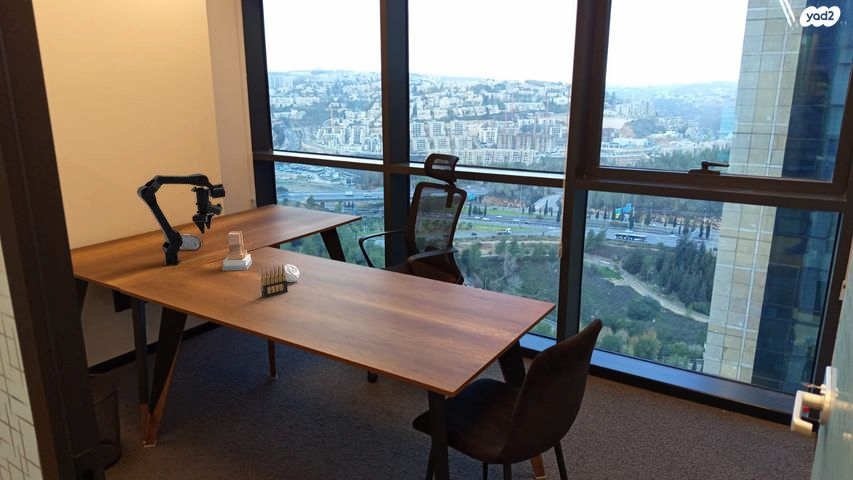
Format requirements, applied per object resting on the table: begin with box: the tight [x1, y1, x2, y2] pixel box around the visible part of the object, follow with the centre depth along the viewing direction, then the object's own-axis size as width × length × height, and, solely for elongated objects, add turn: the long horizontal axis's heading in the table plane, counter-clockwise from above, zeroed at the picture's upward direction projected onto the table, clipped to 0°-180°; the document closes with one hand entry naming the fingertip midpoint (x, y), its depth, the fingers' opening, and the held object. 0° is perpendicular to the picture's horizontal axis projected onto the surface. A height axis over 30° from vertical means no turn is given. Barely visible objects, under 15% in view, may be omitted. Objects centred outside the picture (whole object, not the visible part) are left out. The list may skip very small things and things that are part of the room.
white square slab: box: [222, 253, 252, 266], centre depth 271 cm, size 10×10×2 cm
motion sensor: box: [281, 264, 301, 283], centre depth 250 cm, size 8×8×8 cm
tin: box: [179, 232, 204, 251], centre depth 298 cm, size 15×3×8 cm, turn 84°
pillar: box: [226, 230, 248, 260], centre depth 269 cm, size 7×7×12 cm
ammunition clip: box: [260, 264, 289, 299], centre depth 235 cm, size 11×2×12 cm, turn 130°
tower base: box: [221, 258, 253, 271], centre depth 272 cm, size 11×11×2 cm
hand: (206, 231), depth 283 cm, fingers open, 9 cm apart
